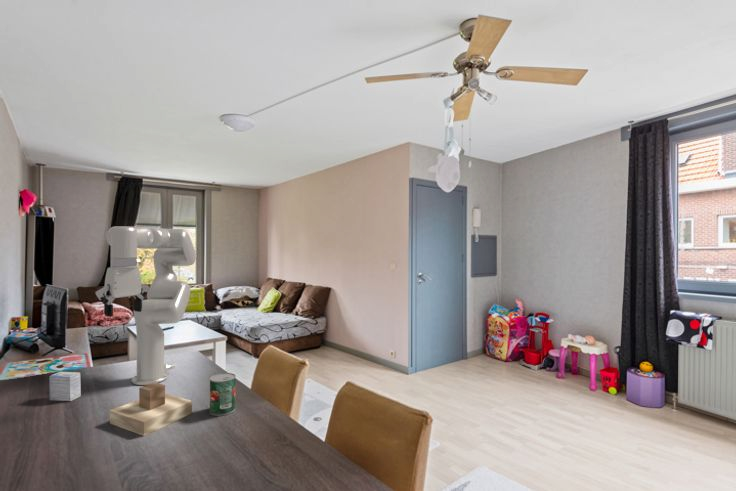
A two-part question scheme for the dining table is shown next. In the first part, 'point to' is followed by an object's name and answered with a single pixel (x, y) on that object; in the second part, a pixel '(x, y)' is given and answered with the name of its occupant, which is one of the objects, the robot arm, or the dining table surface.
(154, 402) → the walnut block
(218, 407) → the canned tomato
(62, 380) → the medicine box
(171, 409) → the birch base
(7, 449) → the dining table surface
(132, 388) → the dining table surface
